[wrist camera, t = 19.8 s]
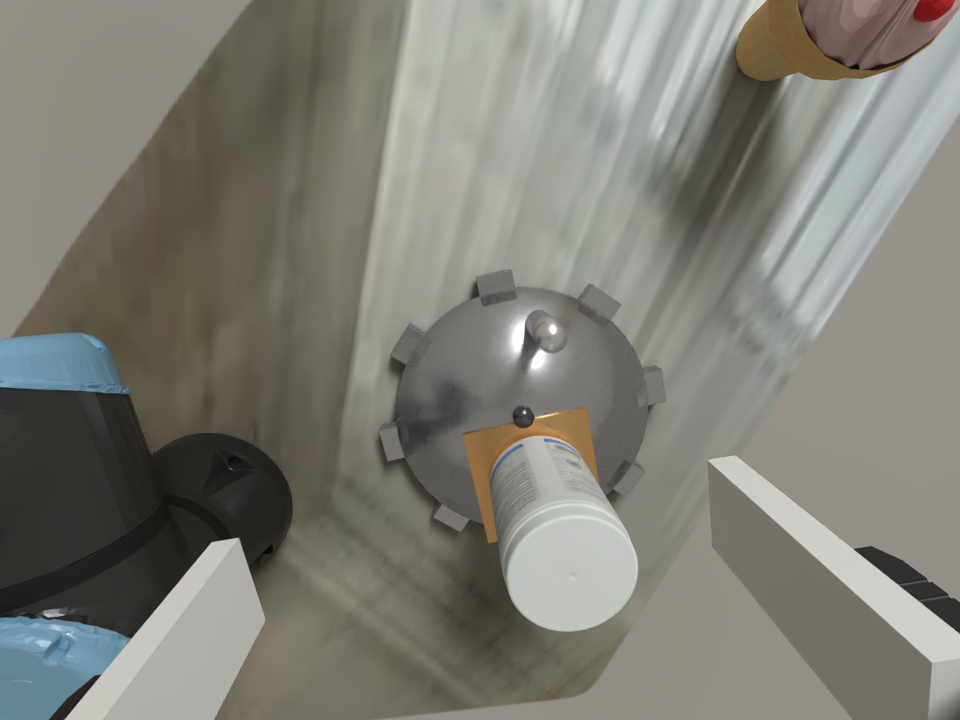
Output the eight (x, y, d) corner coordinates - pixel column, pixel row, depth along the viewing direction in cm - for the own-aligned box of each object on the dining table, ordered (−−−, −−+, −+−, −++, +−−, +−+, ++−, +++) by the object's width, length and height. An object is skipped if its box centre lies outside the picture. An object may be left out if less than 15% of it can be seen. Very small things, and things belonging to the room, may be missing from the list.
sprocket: (570, 572, 52) (590, 635, 44) (334, 466, 49) (308, 513, 40) (713, 352, 47) (767, 376, 39) (461, 213, 43) (460, 207, 35)
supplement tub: (503, 531, 49) (521, 651, 35) (477, 447, 47) (483, 538, 32) (597, 505, 49) (653, 615, 34) (575, 419, 46) (625, 498, 32)
